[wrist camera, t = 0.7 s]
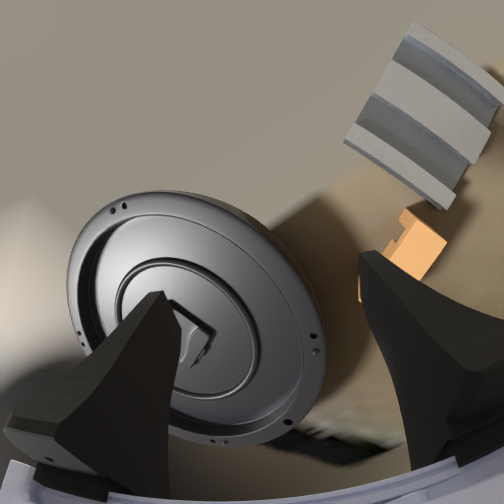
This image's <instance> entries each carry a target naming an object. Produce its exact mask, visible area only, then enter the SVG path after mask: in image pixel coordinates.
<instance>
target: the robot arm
mask: <svg viewBox="0 0 504 504" xmlns="http://www.w3.org/2000/svg"><path fill="white" fill-rule="evenodd" d="M359 268H360V298H361V302H362V305H363V308H364V311H365V315H366V318H367V321H368V323H369V325H370V328H371V330H372V332H373V334H374V337H375V339H376V341H377V343H378V346H379V348H380V350H381V352H382V355H383V357H384V359H385V362H386V364H387V366H388V369H389V371H390V374H391V377H392V380H393V384H394V387H395V391H396V395H397V398H398V402H399V406H400V411H401V415H402V419H403V424H404V429H405V434H406V439H407V444H408V450H409V457H410V464H411V472H408V473H405V474H402V475H399V476H395V477H392V478H388V479H385V480H382V481H377V482H374V483H369V484H365V485H361V486H356V487H352V488H348V489H342V490H337V491H333V492H326V493H321V494H315V495H307V496H300V497H292V498H283V499H271V500H258V501H234V502H204V501H181V500H180V501H179V500H171V494H170V484H169V471H168V426H169V410H170V403H171V397H172V392H173V387H174V382H175V377H176V372H177V367H178V362H179V357H180V351H181V336H182V328H181V326H180V324H179V322H178V320H177V318H176V316H175V314H174V312H173V310H172V308H171V306H170V303H169V301H168V299H167V297H166V295H165V293H164V291H163V290H160V291H154V292H149V293H148V294H147V295H146V296H145V297H144V298H143V299H142V300H141V301H140V302H139V303H138V304H137V305H136V306H135V307H134V308H133V310H132V311H131V312H130V313H129V314H128V315H127V316H126V317H125V318H124V320H123V321H122V322H121V323H120V324H119V325H118V326H117V327H116V329H115V330H114V331H113V332H112V333H111V334H110V335H109V336H108V337H107V338H106V339H105V340H104V341H103V342H102V343H101V344H100V345H99V346H98V347H97V348H96V349H95V350H94V351H93V352H92V353H91V354H90V355H89V356H87V357H86V358H85V359H84V360H83V361H82V362H81V363H79V364H78V365H77V366H76V367H74V368H73V369H72V370H71V371H69V372H68V373H67V374H65V375H64V376H63V377H61V378H60V379H58V380H57V381H55V382H54V383H53V384H51V385H50V386H48V387H46V388H45V389H43V390H42V391H40V392H38V393H36V394H34V395H33V396H31V397H28V398H27V399H25V400H23V401H21V402H19V403H16V404H15V405H14V407H13V408H12V411H11V413H10V415H9V417H8V420H7V422H6V424H5V426H4V433H5V435H6V437H7V438H8V439H9V440H10V441H11V442H12V443H13V444H14V445H15V446H16V447H18V448H19V449H20V450H21V451H23V452H24V453H25V454H27V455H28V456H29V457H31V458H32V459H33V460H35V461H36V462H38V464H37V467H36V469H35V468H33V467H31V466H29V465H26V464H24V463H21V462H18V461H15V460H11V461H10V463H9V466H8V469H7V472H6V475H5V478H4V481H3V484H2V487H1V491H0V504H504V320H502V319H499V318H496V317H492V316H490V315H487V314H484V313H481V312H479V311H476V310H474V309H471V308H469V307H466V306H464V305H462V304H460V303H458V302H456V301H454V300H452V299H450V298H448V297H446V296H444V295H442V294H440V293H438V292H437V291H435V290H433V289H432V288H430V287H428V286H427V285H425V284H423V283H422V282H420V281H419V280H417V279H416V278H414V277H413V276H411V275H410V274H408V273H407V272H405V271H404V270H402V269H401V268H400V267H398V266H397V265H395V264H394V263H393V262H391V261H390V260H388V259H387V258H386V257H384V256H383V255H382V254H380V253H379V252H377V251H376V250H372V251H367V252H362V253H359Z"/></svg>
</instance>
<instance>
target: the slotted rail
mask: <svg viewBox="0 0 504 504" xmlns="http://www.w3.org/2000/svg"><path fill="white" fill-rule="evenodd" d="M500 106H504V87H503V86H502V85H501V84H500V83H499V82H498V81H497V80H495V79H494V78H493V77H492V76H491V75H489V74H488V73H487V72H486V71H485V70H483V69H482V68H481V67H480V66H478V65H477V64H476V63H475V62H473V61H472V60H470V59H469V58H468V57H467V56H465V55H464V54H463V53H461V52H460V51H458V50H457V49H456V48H454V47H453V46H451V45H450V44H449V43H447V42H445V41H444V40H443V39H441V38H440V37H438V36H437V35H435V34H434V33H432V32H430V31H429V30H427V29H426V28H424V27H422V26H421V25H419V24H417V23H416V22H414V21H412V23H411V25H410V27H409V29H408V31H407V32H406V34H405V37H404V39H403V41H402V43H401V44H400V46H399V48H398V49H397V51H396V53H395V55H394V56H393V58H392V59H391V60H390V62H389V64H388V66H387V67H386V69H385V71H384V72H383V74H382V76H381V78H380V79H379V81H378V83H377V84H376V87H375V88H374V90H373V92H372V94H371V96H370V98H369V100H368V101H367V103H366V105H365V106H364V108H363V110H362V111H361V113H360V115H359V117H358V118H357V120H356V122H355V123H354V124H353V125H352V127H351V129H350V130H349V132H348V134H347V135H346V137H345V140H344V144H346V145H348V146H349V147H351V148H352V149H354V150H356V151H357V152H359V153H360V154H362V155H363V156H365V157H366V158H368V159H369V160H371V161H373V162H374V163H376V164H377V165H378V166H380V167H381V168H383V169H384V170H386V171H387V172H389V173H390V174H392V175H393V176H394V177H396V178H397V179H399V180H400V181H402V182H403V183H404V184H406V185H407V186H408V187H410V188H411V189H413V190H414V191H415V192H417V193H418V194H419V195H421V196H422V197H423V198H425V199H426V200H427V201H429V202H430V203H431V204H432V205H434V206H435V207H436V208H438V209H439V210H441V208H444V209H446V210H448V208H449V206H450V205H451V203H452V202H453V200H454V198H455V197H456V194H455V193H453V192H452V191H453V189H454V187H455V186H456V184H457V182H458V181H459V179H460V177H461V176H462V174H463V172H464V170H465V169H466V167H467V165H474V164H475V163H476V161H477V159H478V157H479V155H480V153H481V152H482V150H483V148H484V146H485V144H486V142H487V140H488V138H489V136H490V134H491V132H490V131H489V130H488V129H487V128H488V126H489V124H490V122H491V120H492V118H493V116H494V114H495V112H496V109H497V107H500Z"/></svg>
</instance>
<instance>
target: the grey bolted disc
mask: <svg viewBox="0 0 504 504" xmlns="http://www.w3.org/2000/svg"><path fill="white" fill-rule="evenodd" d="M160 290H163V291H164V293H165V295H166V297H167V299H168V301H169V303H170V306H171V308H172V310H173V312H174V314H175V316H176V318H177V320H178V322H179V324H180V326H181V328H182V336H181V351H180V357H179V362H178V367H177V372H176V377H175V382H174V387H173V392H172V397H171V403H170V410H169V426H168V433H170V434H173V435H175V436H178V437H180V438H183V439H186V440H189V441H192V442H196V443H200V444H205V445H210V446H219V447H243V446H250V445H256V444H260V443H264V442H267V441H270V440H272V439H275V438H277V437H279V436H281V435H283V434H285V433H286V432H288V431H289V430H291V429H292V428H294V427H295V426H296V425H297V424H298V423H300V422H301V421H302V420H303V419H304V418H305V416H306V415H307V414H308V413H309V412H310V410H311V409H312V407H313V406H314V404H315V402H316V401H317V399H318V397H319V394H320V392H321V389H322V386H323V383H324V379H325V374H326V368H327V355H328V352H327V336H326V329H325V323H324V319H323V314H322V310H321V307H320V304H319V301H318V298H317V296H316V293H315V291H314V288H313V286H312V284H311V282H310V280H309V278H308V276H307V274H306V273H305V271H304V269H303V268H302V266H301V265H300V263H299V262H298V260H297V259H296V258H295V256H294V255H293V254H292V252H291V251H290V250H289V249H288V248H287V247H286V245H285V244H284V243H283V242H282V241H281V240H280V239H279V238H278V237H277V236H276V235H275V234H274V233H273V232H271V231H270V230H269V229H268V228H267V227H265V226H264V225H263V224H261V223H260V222H259V221H257V220H256V219H255V218H253V217H252V216H250V215H248V214H247V213H245V212H243V211H242V210H240V209H238V208H236V207H234V206H232V205H230V204H227V203H225V202H222V201H219V200H216V199H213V198H211V197H207V196H204V195H199V194H194V193H189V192H182V191H167V190H166V191H165V190H158V191H146V192H140V193H135V194H131V195H128V196H125V197H122V198H120V199H117V200H116V201H113V202H111V203H110V204H108V205H106V206H105V207H103V208H102V209H101V210H99V211H98V212H97V213H96V214H95V215H94V216H93V217H92V218H91V219H90V220H89V221H88V222H87V224H86V225H85V226H84V228H83V229H82V231H81V232H80V234H79V236H78V237H77V240H76V242H75V244H74V246H73V249H72V252H71V255H70V259H69V264H68V271H67V300H68V306H69V312H70V316H71V320H72V324H73V327H74V330H75V333H76V335H77V338H78V340H79V343H80V345H81V347H82V349H83V351H84V353H85V355H86V357H87V356H89V355H90V354H91V353H92V352H93V351H94V350H95V349H96V348H97V347H98V346H99V345H100V344H101V343H102V342H103V341H104V340H105V339H106V338H107V337H108V336H109V335H110V334H111V333H112V332H113V331H114V330H115V329H116V327H117V326H118V325H119V324H120V323H121V322H122V321H123V320H124V318H125V317H126V316H127V315H128V314H129V313H130V312H131V311H132V310H133V308H134V307H135V306H136V305H137V304H138V303H139V302H140V301H141V300H142V299H143V298H144V297H145V296H146V295H147V294H148V293H149V292H154V291H160Z"/></svg>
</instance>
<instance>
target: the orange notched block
mask: <svg viewBox="0 0 504 504" xmlns="http://www.w3.org/2000/svg"><path fill="white" fill-rule="evenodd" d="M398 220H399V221H400V222H401V224H402V225H403V226H404V228H405V231H404V232H403V234H402V235H401V236H400V238H399V239H398V241H395V240H394V239H392V240H391V242H390V243H389V244H388V246H387V247H386V249H385V250H384V252H383V253H382V255H383V256H384V257H386V258H387V259H388V260H390V261H391V262H393V263H394V264H395V265H397V266H398V267H400V268H401V269H402V270H404V271H405V272H407V273H408V274H410V275H411V276H413V277H414V278H416V279H417V280H419V281H420V280H421V278H422V277H423V276H424V274H425V273H426V272H427V270H428V269H429V268H430V266H431V265H432V263H433V262H434V261H435V259H436V258H437V256H438V255H439V254H440V252H441V251H442V249H443V248H444V246H445V245H446V244H447V242H446V241H445V240H444V239H443V238H442V237H441V236H440V235H439V234H438V233H437V232H436V231H435V230H434V229H433V228H432V227H430V226H429V225H428V224H426V223H425V222H424V221H422V220H421V219H420V218H418V217H417V216H416V215H414V214H413V213H412V212H410V211H409V210H408V209H406V208H405V209H404V211H403V212H402V214H401V215H400V217H399V219H398ZM358 300H359V301H360V302H361V298H360V274H359V276H358ZM361 303H362V302H361Z"/></svg>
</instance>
